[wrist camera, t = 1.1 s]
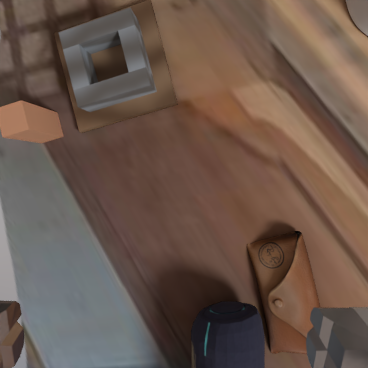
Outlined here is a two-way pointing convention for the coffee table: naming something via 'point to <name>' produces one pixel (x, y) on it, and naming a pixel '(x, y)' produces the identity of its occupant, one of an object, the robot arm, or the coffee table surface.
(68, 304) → the coffee table surface
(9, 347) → the robot arm
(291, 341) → the sunglasses case
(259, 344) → the portable speaker
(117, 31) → the well
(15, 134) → the post
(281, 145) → the coffee table surface
